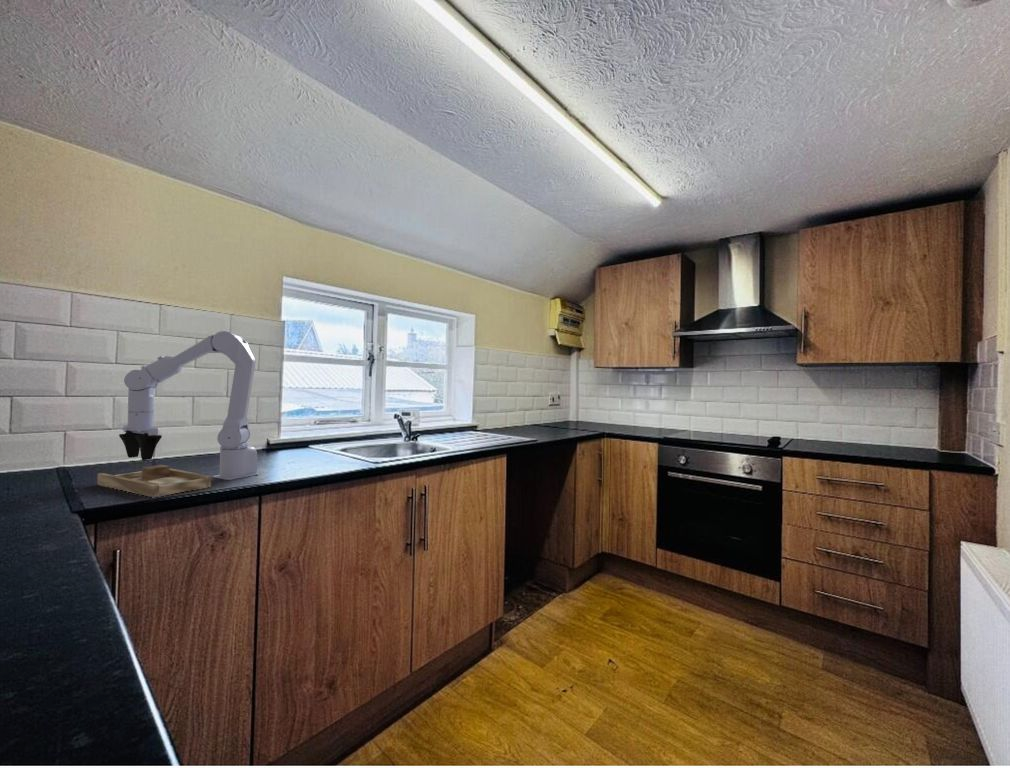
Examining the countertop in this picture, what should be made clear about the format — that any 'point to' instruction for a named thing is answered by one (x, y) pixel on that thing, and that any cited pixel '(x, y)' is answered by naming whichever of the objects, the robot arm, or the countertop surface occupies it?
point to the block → (155, 472)
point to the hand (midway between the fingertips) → (139, 458)
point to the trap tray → (155, 482)
